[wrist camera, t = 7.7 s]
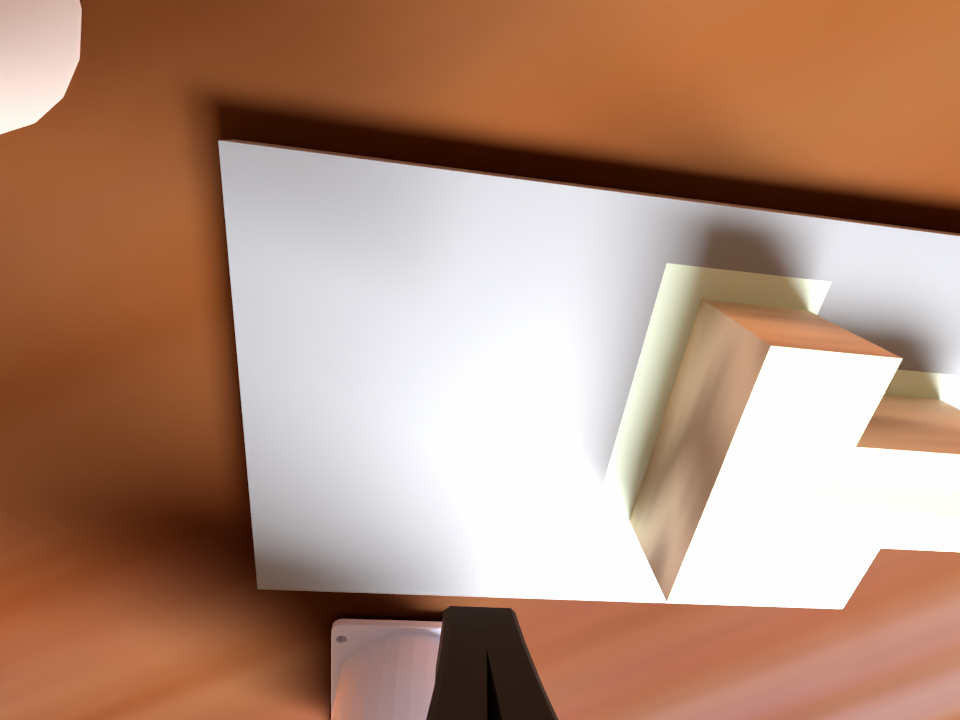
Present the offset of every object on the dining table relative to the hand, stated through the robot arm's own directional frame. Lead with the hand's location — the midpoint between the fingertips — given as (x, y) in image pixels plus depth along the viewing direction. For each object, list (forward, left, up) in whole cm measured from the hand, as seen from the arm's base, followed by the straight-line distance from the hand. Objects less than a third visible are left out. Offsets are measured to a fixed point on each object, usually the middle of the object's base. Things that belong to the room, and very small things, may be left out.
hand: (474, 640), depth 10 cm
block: (0, -13, -9) cm, 16 cm away
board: (-1, -6, -10) cm, 12 cm away
